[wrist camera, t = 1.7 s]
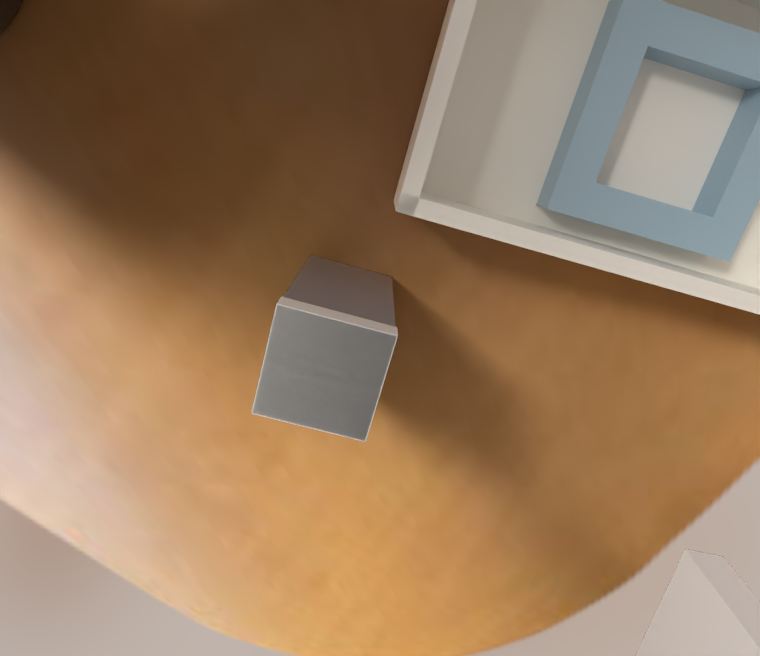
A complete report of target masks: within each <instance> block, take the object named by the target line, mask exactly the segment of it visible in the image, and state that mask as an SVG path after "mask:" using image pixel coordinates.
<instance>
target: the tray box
mask: <svg viewBox="0 0 760 656" xmlns="http://www.w3.org/2000/svg"><path fill="white" fill-rule="evenodd" d="M394 205H395V210H396V212H400V213H403V214H407V215H410V216H414V217H417V218H421V219H424V220H428V221H431V222H435V223H438V224H442V225H445V226H449V227H452V228H456V229H459V230H463V231H467V232H470V233H474V234H477V235H481V236H484V237H488V238H491V239H495V240H498V241H502V242H505V243H509V244H512V245H516V246H519V247H523V248H526V249H530V250H534V251H537V252H541V253H544V254H548V255H551V256H555V257H558V258H562V259H565V260H569V261H572V262H576V263H579V264H583V265H586V266H590V267H593V268H597V269H601V270H604V271H608V272H611V273H615V274H618V275H622V276H625V277H629V278H632V279H636V280H639V281H643V282H646V283H650V284H653V285H657V286H660V287H664V288H668V289H671V290H675V291H678V292H682V293H685V294H689V295H692V296H696V297H699V298H703V299H706V300H710V301H713V302H717V303H720V304H724V305H727V306H731V307H735V308H738V309H742V310H745V311H749V312H752V313H756V314H759V315H760V0H449V3H448V6H447V10H446V14H445V17H444V21H443V24H442V28H441V31H440V35H439V39H438V42H437V46H436V49H435V53H434V57H433V60H432V64H431V67H430V71H429V74H428V78H427V82H426V85H425V89H424V92H423V96H422V99H421V103H420V107H419V110H418V114H417V117H416V121H415V125H414V128H413V132H412V135H411V139H410V142H409V146H408V150H407V153H406V157H405V160H404V164H403V168H402V171H401V175H400V178H399V182H398V185H397V189H396V193H395V196H394Z"/></svg>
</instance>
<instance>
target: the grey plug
mask: <svg viewBox="0 0 760 656" xmlns="http://www.w3.org/2000/svg"><path fill="white" fill-rule="evenodd" d="M397 338H398V328H397V327H396V324H395V310H394V297H393V283H392V277H391V276H387V275H383V274H380V273H376V272H372V271H369V270H365V269H361V268H358V267H354V266H350V265H347V264H343V263H339V262H336V261H332V260H328V259H325V258H321V257H317V256H314V255H311V256H310V257H309V259H308V260H307V262H306V263H305V265H304V266H303V268H302V269H301V271H300V272H299V274H298V275H297V277H296V278H295V280H294V281H293V283H292V284H291V286H290V287H289V289H288V290H287V292H286V293H285V295H284V296H283V297H282V296H281V298H280V299H279V301H278V302H277V304H276V308H275V312H274V317H273V321H272V326H271V330H270V334H269V339H268V343H267V347H266V352H265V356H264V361H263V365H262V369H261V374H260V378H259V382H258V387H257V391H256V396H255V400H254V404H253V409H252V413H251V414H255V415H259V416H263V417H267V418H271V419H276V420H280V421H284V422H288V423H292V424H296V425H300V426H304V427H308V428H312V429H316V430H320V431H324V432H328V433H332V434H336V435H340V436H344V437H348V438H352V439H356V440H360V441H364V442H366V439H367V436H368V433H369V430H370V426H371V423H372V420H373V416H374V413H375V410H376V407H377V403H378V400H379V397H380V393H381V390H382V387H383V384H384V380H385V377H386V374H387V370H388V367H389V364H390V361H391V357H392V354H393V351H394V347H395V344H396V341H397Z"/></svg>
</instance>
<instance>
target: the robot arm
mask: <svg viewBox="0 0 760 656" xmlns="http://www.w3.org/2000/svg"><path fill="white" fill-rule="evenodd" d="M21 2H22V0H0V33H1V32H2V31H3V30H4V29H5V27H6V26H7V25H8V24H9V22H10V21H11V19H12V18H13V16H14V15H15V13H16V12H17V10H18V8H19V6H20V4H21ZM635 656H760V601H759V600H758V598H757V597H756V596H755V595H754V594H753V592H752V591H751V590H750V589H749V588H748V586H747V585H746V584H745V583H744V581H743V580H742V579H741V578H740V577H739V575H738V574H737V573H736V572H735V570H734V569H733V568H732V567H731V566H730V565H729V563H728V562H727V561H726V560H725V558H724V557H723V556H720V555H714V554H709V553H703V552H698V551H693V550H687V549H685V550H684V553H683V555H682V557H681V559H680V561H679V563H678V566H677V567H676V570H675V572H674V574H673V576H672V578H671V580H670V583H669V585H668V587H667V589H666V591H665V593H664V595H663V597H662V599H661V602H660V604H659V606H658V608H657V610H656V612H655V614H654V617H653V619H652V621H651V623H650V625H649V627H648V629H647V631H646V633H645V636H644V638H643V640H642V642H641V644H640V646H639V648H638V650H637V653H636V655H635Z"/></svg>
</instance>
